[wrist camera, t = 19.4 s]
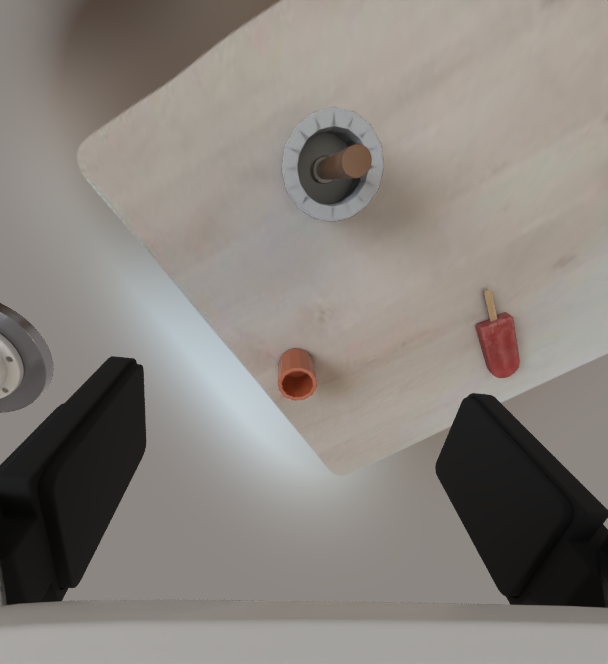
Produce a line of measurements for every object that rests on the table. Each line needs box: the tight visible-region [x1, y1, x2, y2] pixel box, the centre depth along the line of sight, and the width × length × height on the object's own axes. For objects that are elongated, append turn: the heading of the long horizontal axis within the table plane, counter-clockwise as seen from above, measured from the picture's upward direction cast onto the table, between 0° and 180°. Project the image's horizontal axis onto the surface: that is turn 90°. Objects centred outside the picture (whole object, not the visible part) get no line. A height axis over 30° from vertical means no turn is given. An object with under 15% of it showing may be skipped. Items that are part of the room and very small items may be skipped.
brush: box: [310, 144, 372, 184], centre depth 29 cm, size 3×3×20 cm
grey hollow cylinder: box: [282, 107, 384, 222], centre depth 33 cm, size 9×9×11 cm
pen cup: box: [278, 349, 317, 400], centre depth 46 cm, size 5×5×6 cm
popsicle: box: [476, 289, 519, 378], centre depth 47 cm, size 4×2×15 cm
